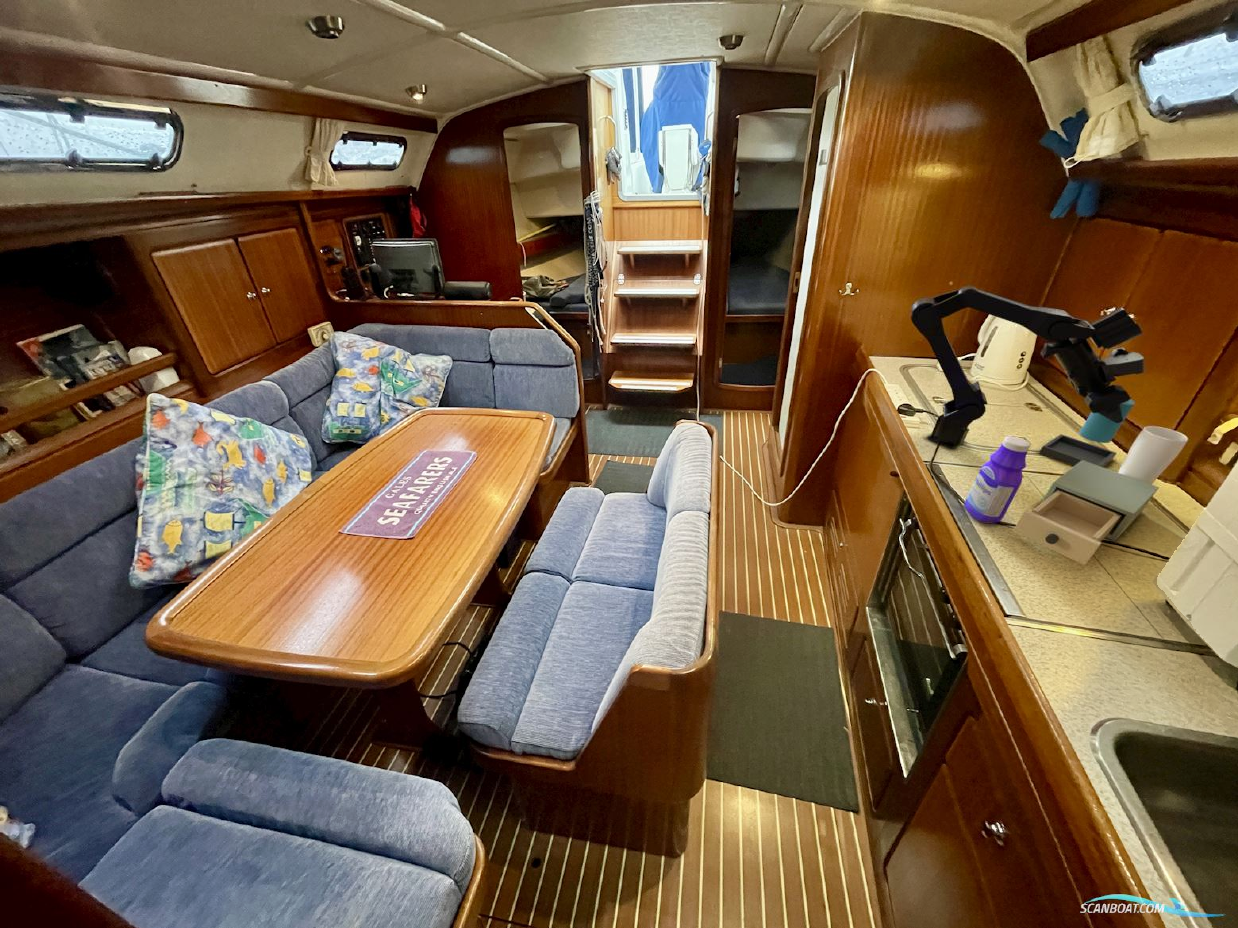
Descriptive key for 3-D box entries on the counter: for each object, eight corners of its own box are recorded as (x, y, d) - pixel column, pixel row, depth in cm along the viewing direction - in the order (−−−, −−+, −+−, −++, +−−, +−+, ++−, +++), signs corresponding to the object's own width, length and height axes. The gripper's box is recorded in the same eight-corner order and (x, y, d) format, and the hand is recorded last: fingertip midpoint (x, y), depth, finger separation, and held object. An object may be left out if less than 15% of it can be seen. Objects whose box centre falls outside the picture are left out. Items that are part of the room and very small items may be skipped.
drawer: (1082, 568, 85) (1096, 547, 83) (1009, 533, 93) (1021, 513, 91) (1112, 535, 93) (1126, 516, 90) (1043, 506, 101) (1054, 487, 98)
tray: (1039, 453, 121) (1042, 446, 120) (1057, 440, 126) (1060, 434, 125) (1095, 473, 113) (1100, 466, 112) (1112, 459, 118) (1117, 452, 117)
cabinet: (1114, 540, 93) (1134, 513, 89) (1038, 507, 102) (1053, 481, 98) (1140, 513, 100) (1159, 487, 97) (1067, 484, 109) (1082, 459, 106)
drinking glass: (1153, 503, 103) (1198, 443, 95) (1116, 499, 104) (1158, 439, 96) (1131, 486, 109) (1172, 427, 101) (1097, 482, 110) (1135, 424, 102)
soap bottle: (1093, 443, 109) (1121, 398, 103) (1072, 431, 114) (1097, 388, 108) (1117, 442, 109) (1146, 398, 103) (1095, 431, 114) (1121, 387, 108)
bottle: (956, 503, 103) (990, 431, 94) (983, 504, 103) (1020, 432, 94) (977, 525, 97) (1015, 450, 87) (1005, 525, 97) (1047, 451, 87)
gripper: (1144, 353, 94) (1184, 415, 96) (1113, 328, 108) (1148, 383, 110) (1073, 383, 101) (1111, 441, 103) (1052, 356, 115) (1086, 407, 117)
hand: (1115, 416), depth 108 cm, fingers closed on soap bottle, 5 cm apart
